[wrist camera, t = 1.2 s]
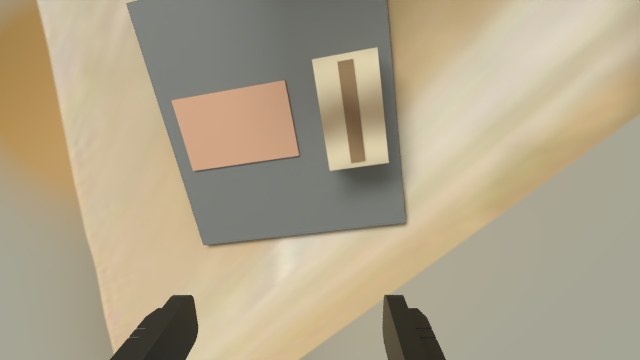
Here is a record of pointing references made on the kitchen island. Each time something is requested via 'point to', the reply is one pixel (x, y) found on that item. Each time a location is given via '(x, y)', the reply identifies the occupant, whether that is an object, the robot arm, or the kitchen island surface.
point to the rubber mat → (265, 113)
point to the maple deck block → (351, 109)
